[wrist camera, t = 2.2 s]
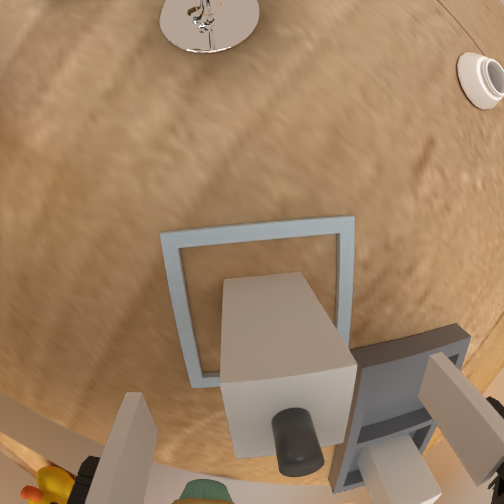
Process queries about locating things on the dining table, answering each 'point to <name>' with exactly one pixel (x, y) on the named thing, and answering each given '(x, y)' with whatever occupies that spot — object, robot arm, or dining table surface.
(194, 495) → the cupcake
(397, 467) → the white plug
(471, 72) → the white short tapered ring
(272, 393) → the white block with peg
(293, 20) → the dining table surface
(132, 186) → the dining table surface
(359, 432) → the two-slot grey rack
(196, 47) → the wineglass
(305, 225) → the square frame
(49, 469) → the duckling
